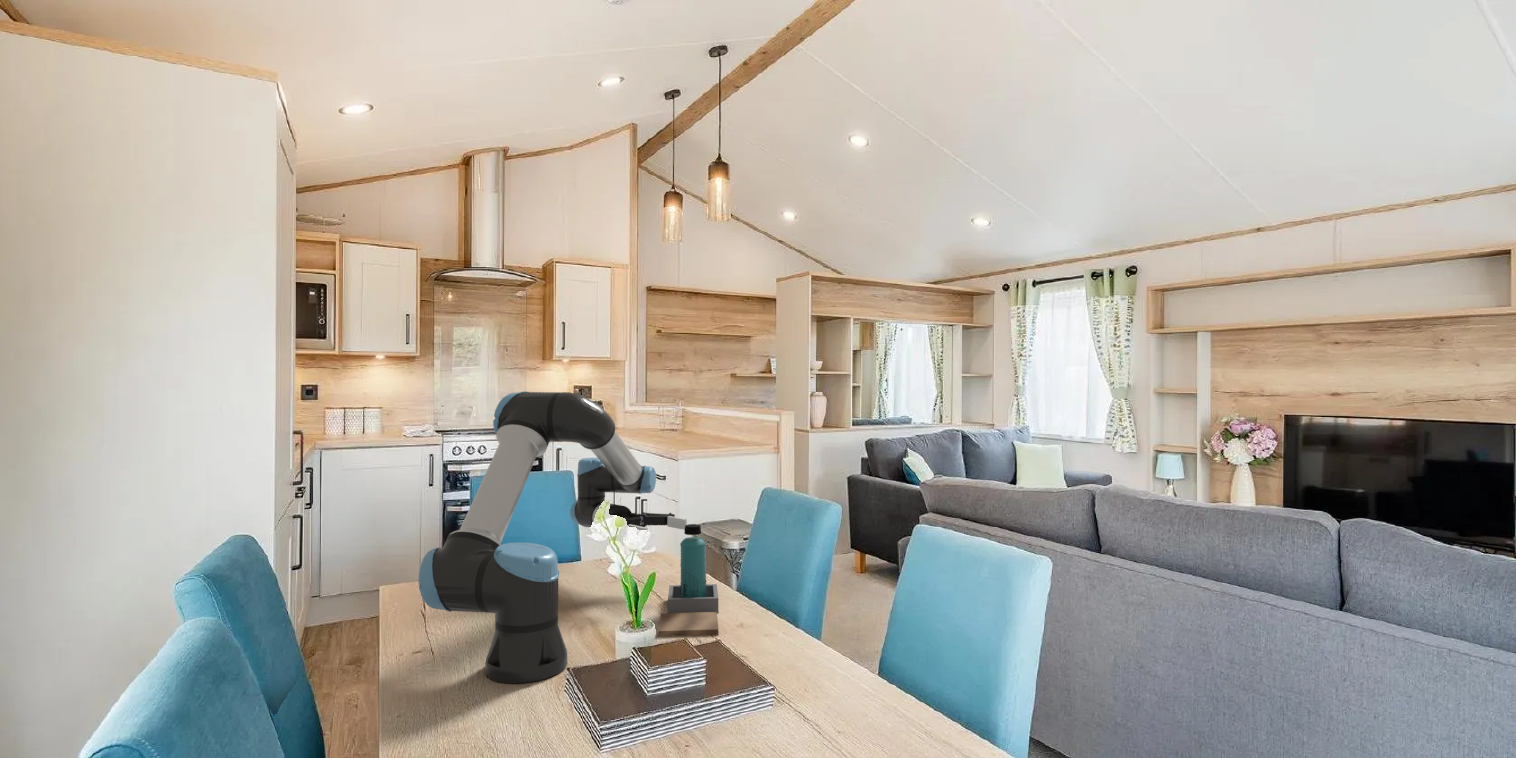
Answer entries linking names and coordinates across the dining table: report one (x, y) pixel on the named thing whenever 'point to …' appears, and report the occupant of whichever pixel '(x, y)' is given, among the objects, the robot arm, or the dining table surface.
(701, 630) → the walnut board
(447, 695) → the dining table surface
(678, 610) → the gray square tray
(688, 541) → the beverage bottle
